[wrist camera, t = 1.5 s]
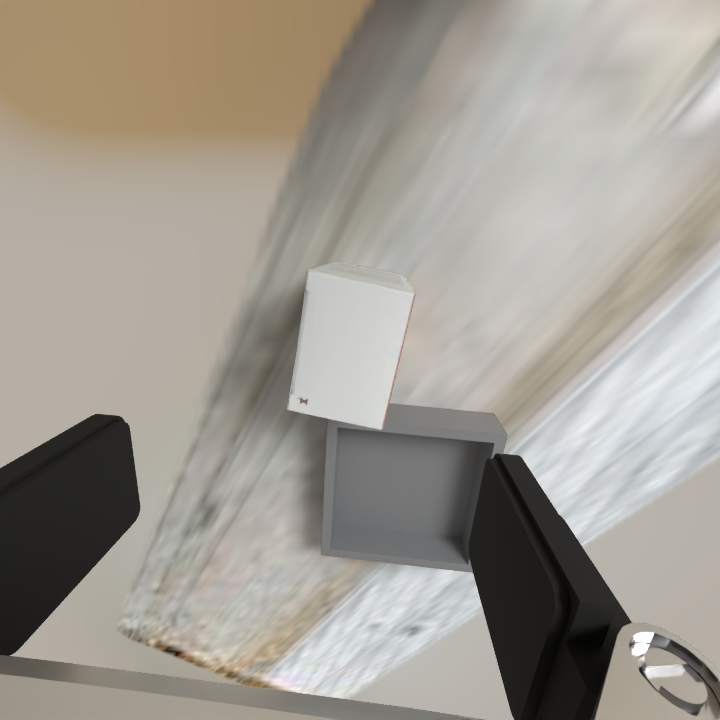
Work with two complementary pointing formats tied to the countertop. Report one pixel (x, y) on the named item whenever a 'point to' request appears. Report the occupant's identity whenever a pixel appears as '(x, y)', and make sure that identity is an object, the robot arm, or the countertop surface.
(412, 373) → the countertop surface
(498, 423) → the tray
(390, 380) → the small box
